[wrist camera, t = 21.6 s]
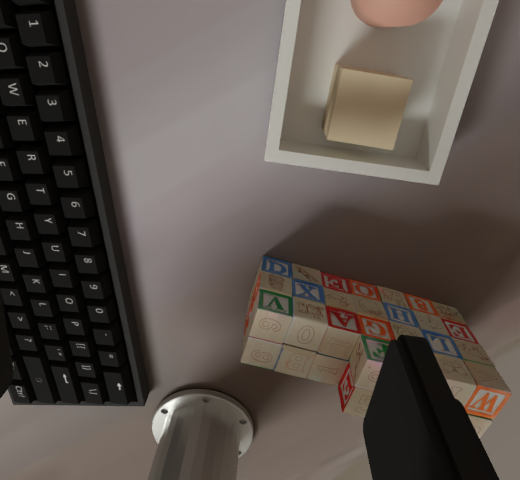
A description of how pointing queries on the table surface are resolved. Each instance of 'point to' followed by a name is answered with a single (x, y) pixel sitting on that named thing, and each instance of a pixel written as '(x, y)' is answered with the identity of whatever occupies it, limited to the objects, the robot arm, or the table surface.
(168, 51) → the table surface
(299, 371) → the stack of blocks
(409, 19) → the smooth tan pebble
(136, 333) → the computer keyboard
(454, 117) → the tote
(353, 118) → the cube
